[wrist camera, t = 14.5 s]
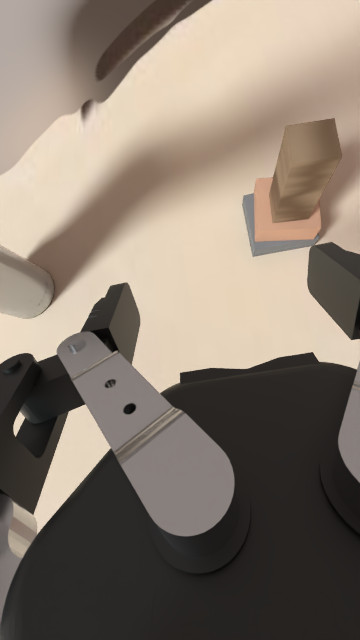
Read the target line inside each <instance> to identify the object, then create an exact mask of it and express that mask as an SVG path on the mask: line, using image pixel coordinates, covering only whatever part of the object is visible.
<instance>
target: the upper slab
mask: <svg viewBox="0 0 360 640" xmlns="http://www.w3.org/2000/svg"><path fill="white" fill-rule="evenodd" d="M272 180H273V177H271V178H259V179H256V183H255V189H254V225H255V242H263V241H286V240H308V239H314V238H315V236H316V235H317V234H318V232H319V231H320V229H321V216H320V202H319V200H318V202H317V204H316V206H315V208H314V210H313V211H312V213H311V215H310V217H309V219H306V220H297V221H288V222H279V223H273V222H272V214H271V206H270V198H269V192H270V188H271V184H272Z"/></svg>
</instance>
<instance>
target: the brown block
mask: <svg viewBox="0 0 360 640" xmlns="http://www.w3.org/2000/svg"><path fill="white" fill-rule="evenodd" d="M341 157H342V154H341V149H340V144H339V139H338V134H337V129H336V124H335V119H334V118H333V119H327V120H320V121H314V122H308V123H302V124H296V125H290V126H286V129H285V133H284V137H283V141H282V145H281V149H280V153H279V157H278V161H277V165H276V169H275V173H274V176H273V180H272V184H271V188H270V192H269V198H270V206H271V214H272V222H273V223H279V222H288V221H297V220H306V219H309V217H310V215H311V213H312V211H313V210H314V208H315V206H316V204H317V202H318V200H319V198H320V196H321V195H322V193H323V191H324V189H325V187H326V185H327V183H328V182H329V180H330V178H331V176H332V174H333V172H334V170H335V169H336V167H337V165H338V163H339V161H340V159H341Z"/></svg>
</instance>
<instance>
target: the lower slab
mask: <svg viewBox="0 0 360 640" xmlns="http://www.w3.org/2000/svg"><path fill="white" fill-rule="evenodd" d="M242 206H243V211H244V216H245V221H246V226H247V231H248V236H249V241H250V246H251V251H252V256H253V257H254V256H259V255H265V254H270V253H276V252H281V251H287V250H292V249H298V248H303V247H309V246H314V245H315V243H316V242H317V241H318V239H319V238H320V237H319V233H318V234H317V235H316V236H315V238H314V239H308V240H286V241H263V242H255V225H254V193H253V194H249V195H244V196H243V204H242Z"/></svg>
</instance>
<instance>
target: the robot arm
mask: <svg viewBox="0 0 360 640" xmlns="http://www.w3.org/2000/svg"><path fill="white" fill-rule="evenodd" d="M307 284H308V289H309V291H310V293H311V295H312V296H313V297H314V298H315V299H316V300H317V302H318V303H319V304H320V305H321V306H322V307H323V308H324V310H325V311H326V312H327V313H328V314H329V315H330V316H331V317H332V319H333V320H334V321H335V322H336V323H337V324H338V325H339V327H340V328H341V329H342V330H343V331H344V332H345V333H346V335H347V336H348V337H349V338H350V339H351V340H355V339H360V254H356V253H353V252H349V251H345V250H344V249H342V248H341V247H339V246H338V245H336V244H334V243H333V242H330V243H325V244H319V245H314V246H312V247H311V248H310V252H309V264H308V278H307ZM53 293H54V284H53V280H52V278H51V276H50V275H49V273H48V272H46V271H45V270H44V269H42V268H40V267H38V266H37V265H35V264H33V263H31V262H30V261H28V260H26V259H24V258H23V257H21V256H19V255H17V254H16V253H14V252H12V251H10V250H8V249H7V248H5V247H3V246H1V245H0V313H3V314H7V315H11V316H15V317H19V318H23V319H24V318H33V317H35V316H37V315H39V314H41V313H42V312H43V311H44V310H45V309H46V308H47V307H48V306H49V304H50V302H51V300H52V298H53ZM139 327H140V315H139V311H138V308H137V306H136V303H135V300H134V297H133V294H132V292H131V289H130V286H129V284H128V283H122V284H117V285H112V286H110V288H109V290H108V292H107V294H106V296H105V298H101V299H100V300H99V301H98V302H97V303H96V304H95V305H94V307H93V309H92V311H91V313H90V315H89V316H88V318H87V320H86V322H85V324H84V326H83V328H82V330H81V332H80V333H77V334H74V335H72V336H70V337H68V338H67V339H65V340H64V341H63V342H62V343H61V344H60V345H59V346H58V348H57V355H55V356H52V357H50V358H47V359H44V360H42V361H39V362H37V361H36V360H35V358H34V357H33V355H32V354H29V353H23V354H19V355H16V356H13V357H11V358H9V359H7V360H6V361H4V362H3V363H1V364H0V640H360V362H359V366H358V369H357V370H356V369H353V368H351V367H347V366H343V365H339V364H334V363H327V362H319V361H318V360H317V358H316V357H315V355H314V353H313V352H311V353H305V354H299V355H292V356H286V357H279V358H276V359H274V360H271V361H268V362H265V363H263V364H260V365H257V366H254V367H252V368H249V369H224V368H208V369H202V370H196V371H189V372H183V373H180V383H178V384H175V385H173V386H171V387H169V388H168V389H166V390H164V391H163V392H161V393H159V392H158V391H157V390H156V389H155V388H154V387H153V386H152V385H151V384H150V383H149V382H148V381H147V380H146V379H145V378H144V377H143V376H142V375H141V374H140V373H139V372H138V371H137V370H136V369H135V368H134V367H133V366H132V361H133V356H134V351H135V346H136V342H137V337H138V332H139ZM85 404H86V405H87V407H88V409H89V411H90V412H91V414H92V416H93V417H94V419H95V421H96V423H97V424H98V426H99V428H100V429H101V431H102V433H103V435H104V436H105V438H106V440H107V441H108V443H109V445H110V447H111V449H110V450H109V451H108V452H107V453H106V454H105V456H104V457H103V458H102V459H101V460H100V461H99V463H98V464H97V465H96V466H95V467H94V468H93V470H92V471H91V472H90V473H89V474H88V475H87V477H86V478H85V479H84V480H83V481H82V483H81V484H80V485H79V486H78V487H77V488H76V490H75V491H74V492H73V493H72V494H71V495H70V497H69V498H68V499H67V500H66V501H65V502H64V504H63V505H62V506H61V507H60V508H59V509H58V511H57V512H56V513H55V514H54V515H53V516H52V518H51V519H50V520H49V521H48V522H47V523H46V525H45V526H44V527H43V528H42V529H41V531H40V532H39V533H38V535H37V522H36V519H35V517H34V516H33V514H34V511H35V509H36V506H37V503H38V500H39V497H40V494H41V491H42V488H43V485H44V482H45V479H46V476H47V474H48V471H49V468H50V465H51V462H52V459H53V456H54V453H55V450H56V447H57V444H58V442H59V439H60V436H61V433H62V430H63V427H64V424H65V421H66V418H67V415H68V412H69V411H71V410H73V409H75V408H78V407H80V406H82V405H85ZM19 411H20V412H21V413H22V414H23V415H24V417H25V419H24V421H23V423H22V425H21V427H20V429H19V431H18V433H17V435H16V437H15V435H14V432H13V425H14V421H15V419H16V417H17V415H18V413H19ZM36 535H37V536H36Z"/></svg>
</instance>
